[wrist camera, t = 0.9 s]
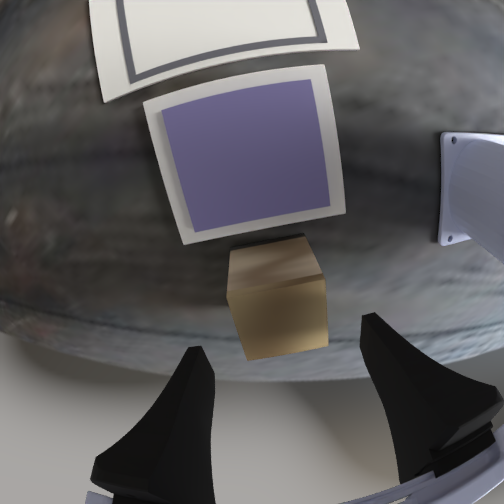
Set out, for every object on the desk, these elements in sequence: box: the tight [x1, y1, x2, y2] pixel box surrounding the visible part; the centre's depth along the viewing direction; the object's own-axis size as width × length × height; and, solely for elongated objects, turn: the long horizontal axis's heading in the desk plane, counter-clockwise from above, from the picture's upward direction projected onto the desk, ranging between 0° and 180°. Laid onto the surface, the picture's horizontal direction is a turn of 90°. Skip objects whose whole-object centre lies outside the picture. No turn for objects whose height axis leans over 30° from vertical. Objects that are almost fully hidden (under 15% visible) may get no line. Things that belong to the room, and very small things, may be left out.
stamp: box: [226, 233, 328, 361], centre depth 15 cm, size 4×4×5 cm
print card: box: [89, 0, 359, 103], centre depth 10 cm, size 14×8×1 cm, turn 102°
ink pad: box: [143, 64, 346, 245], centre depth 13 cm, size 9×8×2 cm
